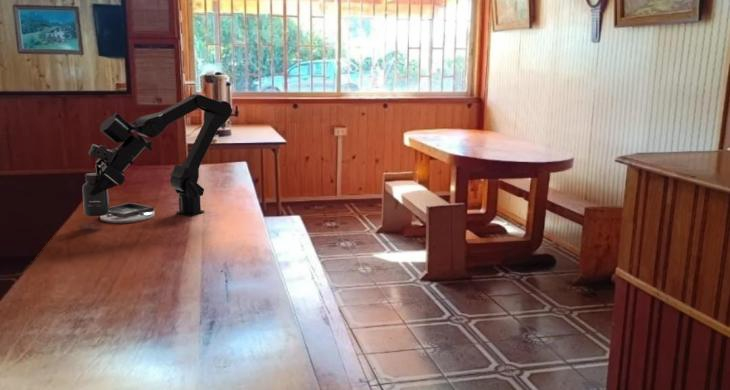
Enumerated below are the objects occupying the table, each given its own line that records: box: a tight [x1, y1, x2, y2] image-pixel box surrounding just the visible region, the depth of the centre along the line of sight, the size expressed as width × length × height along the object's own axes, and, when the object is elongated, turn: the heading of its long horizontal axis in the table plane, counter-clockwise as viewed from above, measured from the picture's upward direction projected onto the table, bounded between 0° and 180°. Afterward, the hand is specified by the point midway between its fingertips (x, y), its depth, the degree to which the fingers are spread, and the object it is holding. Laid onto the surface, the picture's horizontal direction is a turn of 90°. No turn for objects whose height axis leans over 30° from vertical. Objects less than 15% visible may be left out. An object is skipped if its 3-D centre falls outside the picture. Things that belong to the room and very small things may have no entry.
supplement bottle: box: [81, 172, 110, 217], centre depth 182 cm, size 7×7×12 cm
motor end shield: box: [99, 202, 155, 224], centre depth 197 cm, size 16×16×3 cm
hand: (90, 192), depth 182 cm, fingers closed on supplement bottle, 7 cm apart
